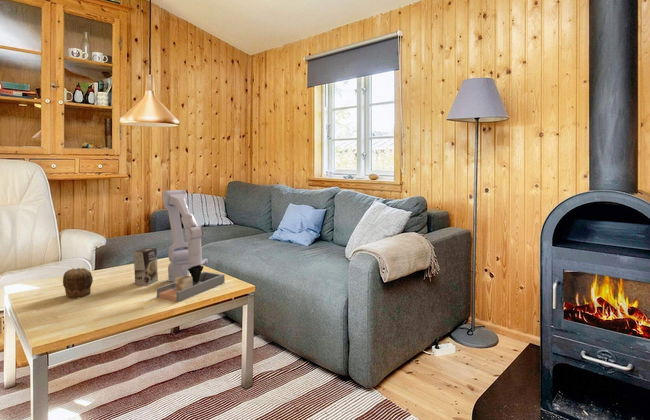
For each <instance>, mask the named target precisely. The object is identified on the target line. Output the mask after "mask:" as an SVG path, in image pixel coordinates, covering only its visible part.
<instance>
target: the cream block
mask: <svg viewBox="0 0 650 420" xmlns="http://www.w3.org/2000/svg"><path fill="white" fill-rule="evenodd" d="M190 276H191V275H189V276H181V277H178V278H175V284H176V290H183V289H186V288H188V287H191V286H193V282H192V277H190Z"/></svg>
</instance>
